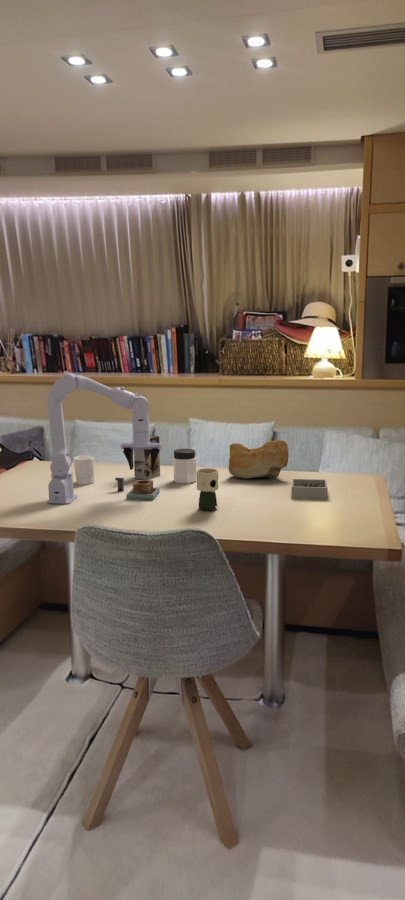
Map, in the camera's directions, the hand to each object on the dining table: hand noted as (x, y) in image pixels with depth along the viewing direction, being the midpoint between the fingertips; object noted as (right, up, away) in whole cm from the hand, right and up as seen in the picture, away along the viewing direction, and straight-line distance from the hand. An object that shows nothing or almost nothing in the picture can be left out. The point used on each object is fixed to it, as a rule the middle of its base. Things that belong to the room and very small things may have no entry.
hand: (142, 469), depth 218 cm
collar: (0, -9, +2) cm, 9 cm away
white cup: (-24, -6, +22) cm, 33 cm away
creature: (+60, -9, +2) cm, 60 cm away
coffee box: (-1, -4, +29) cm, 29 cm away
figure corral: (+59, -9, +1) cm, 59 cm away
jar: (+14, -5, +22) cm, 27 cm away
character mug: (+23, -13, -14) cm, 30 cm away
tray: (0, -10, +2) cm, 10 cm away
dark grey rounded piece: (-9, -8, +9) cm, 15 cm away
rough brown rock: (+44, -4, +28) cm, 52 cm away
